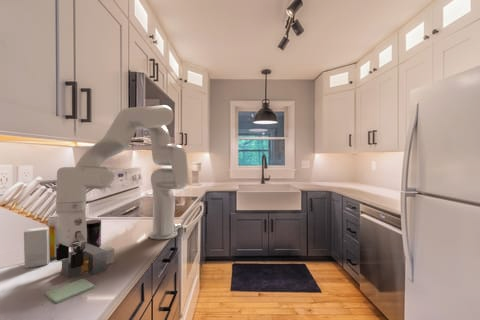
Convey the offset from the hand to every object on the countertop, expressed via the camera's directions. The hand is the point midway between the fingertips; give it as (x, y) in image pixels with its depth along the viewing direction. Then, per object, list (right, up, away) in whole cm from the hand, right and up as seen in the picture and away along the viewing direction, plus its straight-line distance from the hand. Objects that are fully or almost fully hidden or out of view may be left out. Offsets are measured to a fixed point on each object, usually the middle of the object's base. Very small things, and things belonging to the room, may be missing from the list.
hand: (69, 262), depth 73 cm
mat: (+7, -4, -9) cm, 12 cm away
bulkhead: (+3, -4, +5) cm, 7 cm away
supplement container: (-8, -4, +23) cm, 25 cm away
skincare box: (-16, -4, +7) cm, 18 cm away
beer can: (-15, -4, +14) cm, 21 cm away
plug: (+3, -4, +5) cm, 7 cm away
